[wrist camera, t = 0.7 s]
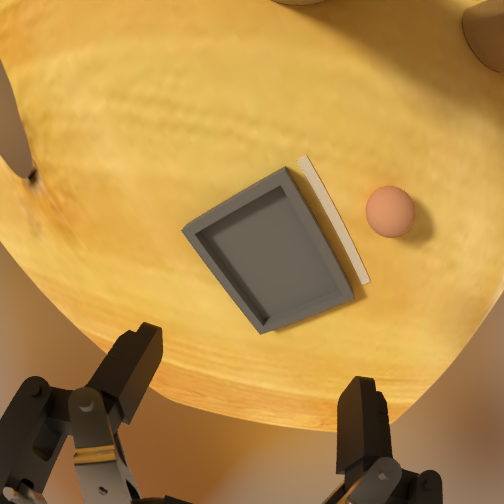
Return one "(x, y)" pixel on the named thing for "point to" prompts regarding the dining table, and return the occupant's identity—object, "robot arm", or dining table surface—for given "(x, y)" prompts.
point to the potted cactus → (298, 2)
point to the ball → (390, 211)
